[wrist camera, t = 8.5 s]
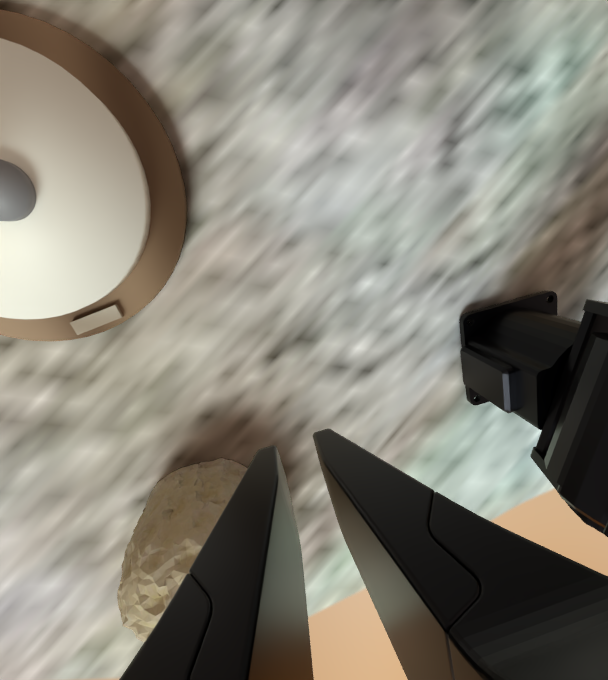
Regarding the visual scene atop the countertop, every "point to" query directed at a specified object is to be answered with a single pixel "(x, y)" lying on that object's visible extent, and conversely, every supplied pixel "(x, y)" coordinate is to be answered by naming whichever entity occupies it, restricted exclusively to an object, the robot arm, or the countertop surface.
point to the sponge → (172, 538)
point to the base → (158, 170)
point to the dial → (63, 191)
